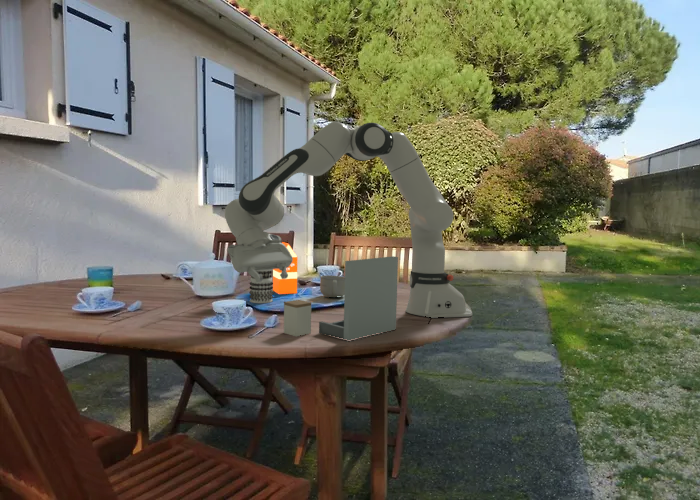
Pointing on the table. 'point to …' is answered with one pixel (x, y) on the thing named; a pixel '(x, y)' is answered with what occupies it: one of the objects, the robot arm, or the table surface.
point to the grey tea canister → (297, 317)
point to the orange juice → (291, 281)
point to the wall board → (367, 299)
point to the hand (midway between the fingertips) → (273, 279)
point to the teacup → (332, 286)
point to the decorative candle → (262, 288)
